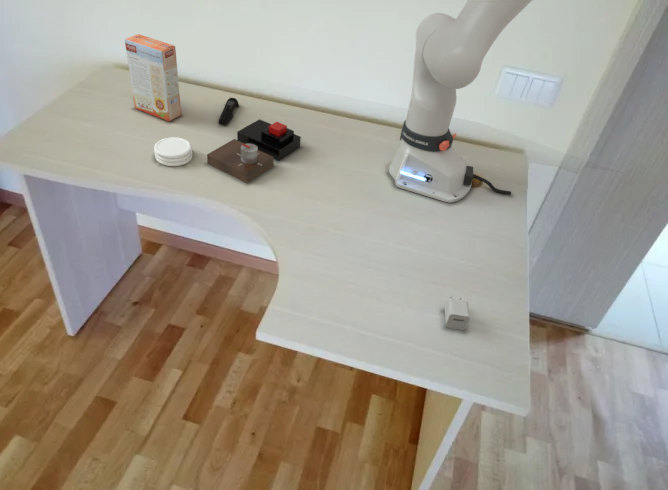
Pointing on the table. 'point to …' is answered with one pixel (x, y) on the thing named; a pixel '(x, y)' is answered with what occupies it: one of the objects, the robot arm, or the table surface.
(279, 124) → the button
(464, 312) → the usb wall charger
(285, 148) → the red push button box
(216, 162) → the dial panel
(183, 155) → the white round disc stack
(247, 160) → the dial
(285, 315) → the table surface
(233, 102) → the electric trimmer
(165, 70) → the cracker box
